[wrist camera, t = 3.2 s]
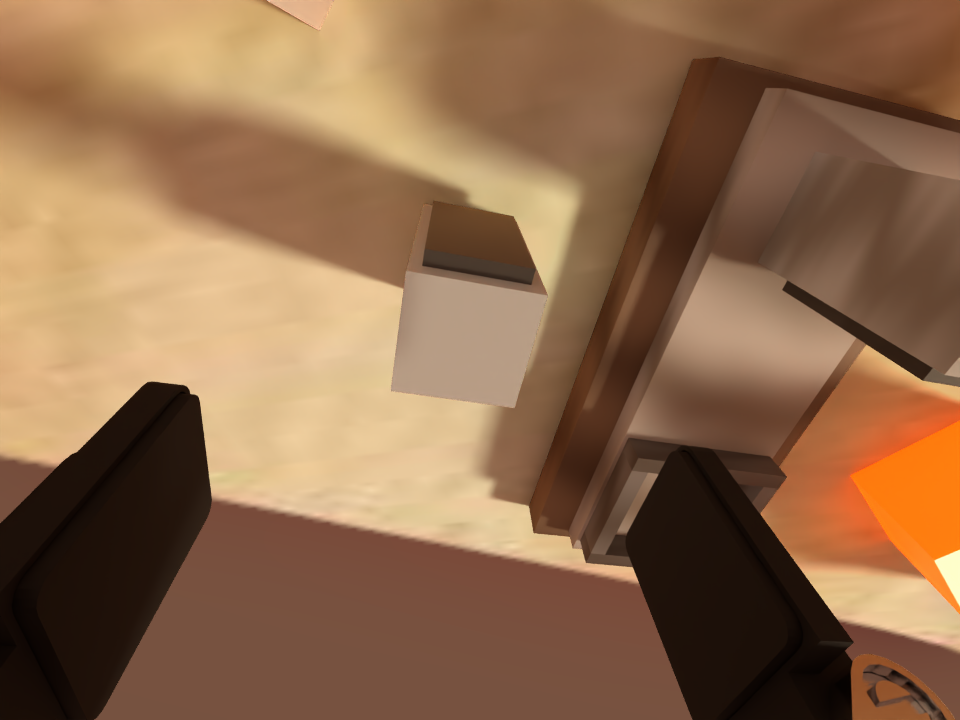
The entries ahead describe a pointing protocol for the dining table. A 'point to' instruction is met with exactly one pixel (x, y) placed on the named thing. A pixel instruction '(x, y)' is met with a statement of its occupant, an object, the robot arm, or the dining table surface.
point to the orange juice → (921, 506)
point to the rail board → (756, 290)
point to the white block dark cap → (467, 308)
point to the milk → (306, 10)
